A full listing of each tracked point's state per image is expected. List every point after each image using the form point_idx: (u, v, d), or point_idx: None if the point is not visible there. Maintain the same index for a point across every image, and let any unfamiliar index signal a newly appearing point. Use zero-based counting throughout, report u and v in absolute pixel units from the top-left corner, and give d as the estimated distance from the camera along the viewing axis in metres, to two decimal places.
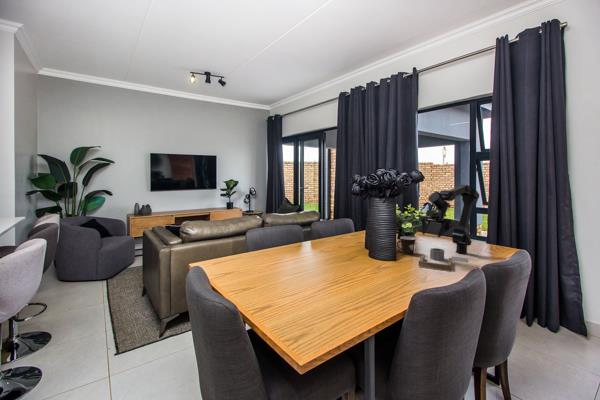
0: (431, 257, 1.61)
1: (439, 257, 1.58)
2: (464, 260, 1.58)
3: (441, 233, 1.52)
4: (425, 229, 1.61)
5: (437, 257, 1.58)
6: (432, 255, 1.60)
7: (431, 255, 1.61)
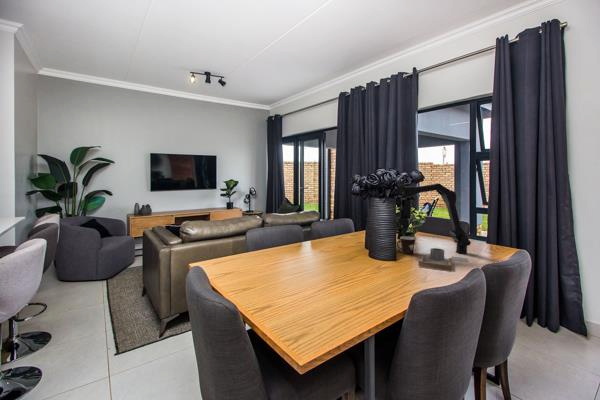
0: (431, 257, 1.61)
1: (439, 257, 1.58)
2: (464, 260, 1.58)
3: (404, 230, 1.69)
4: None
5: (437, 257, 1.58)
6: (432, 255, 1.60)
7: (431, 255, 1.61)
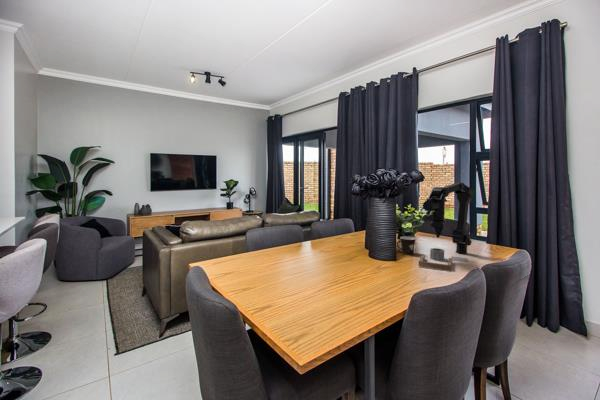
0: (431, 257, 1.61)
1: (439, 257, 1.58)
2: (464, 260, 1.58)
3: (437, 233, 1.59)
4: None
5: (437, 257, 1.58)
6: (432, 255, 1.60)
7: (431, 255, 1.61)
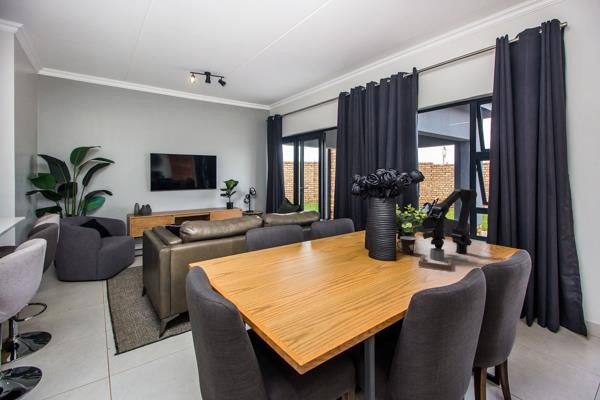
0: (431, 257, 1.61)
1: (439, 257, 1.58)
2: (464, 260, 1.58)
3: None
4: None
5: (437, 257, 1.58)
6: (432, 255, 1.60)
7: (431, 255, 1.61)
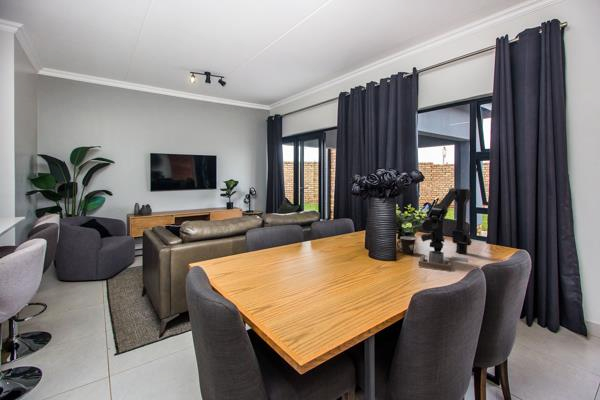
0: (430, 260, 1.55)
1: (438, 260, 1.52)
2: (464, 260, 1.58)
3: None
4: None
5: (436, 260, 1.52)
6: (430, 258, 1.54)
7: (430, 258, 1.55)
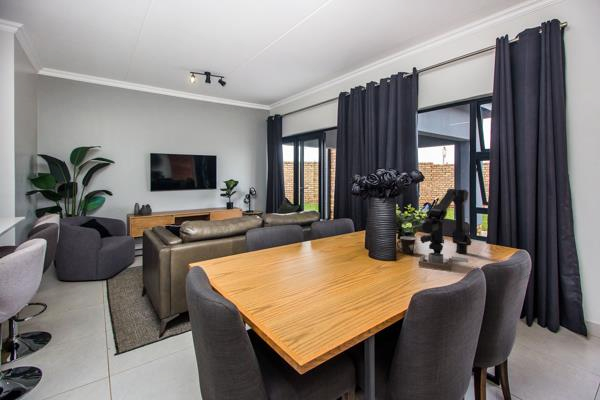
0: None
1: (438, 262, 1.48)
2: (464, 260, 1.58)
3: None
4: None
5: (435, 262, 1.49)
6: (430, 260, 1.51)
7: (429, 260, 1.51)
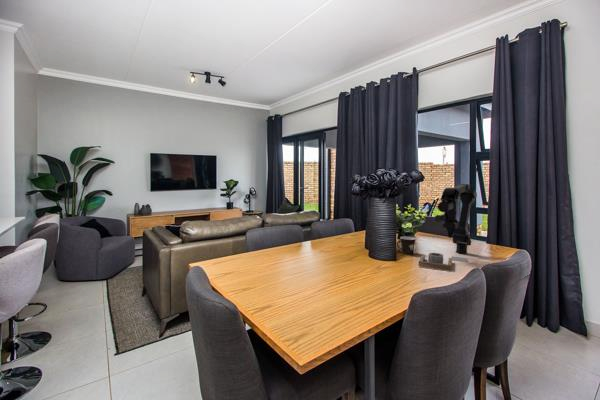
0: None
1: (438, 263, 1.48)
2: (464, 260, 1.58)
3: (450, 234, 1.60)
4: None
5: (435, 262, 1.49)
6: (430, 261, 1.51)
7: (429, 260, 1.51)
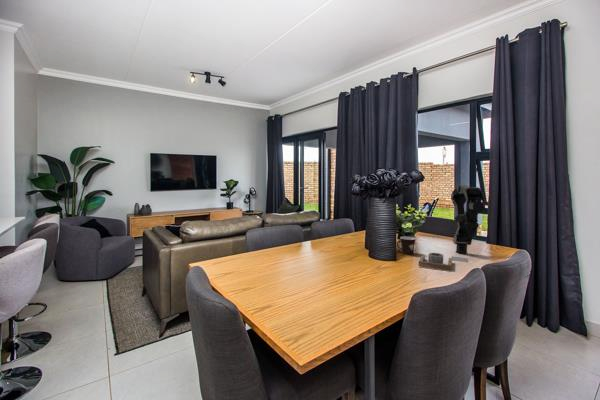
0: None
1: (438, 263, 1.48)
2: (464, 260, 1.58)
3: (470, 234, 1.58)
4: None
5: (435, 262, 1.49)
6: (430, 261, 1.51)
7: (429, 260, 1.51)
